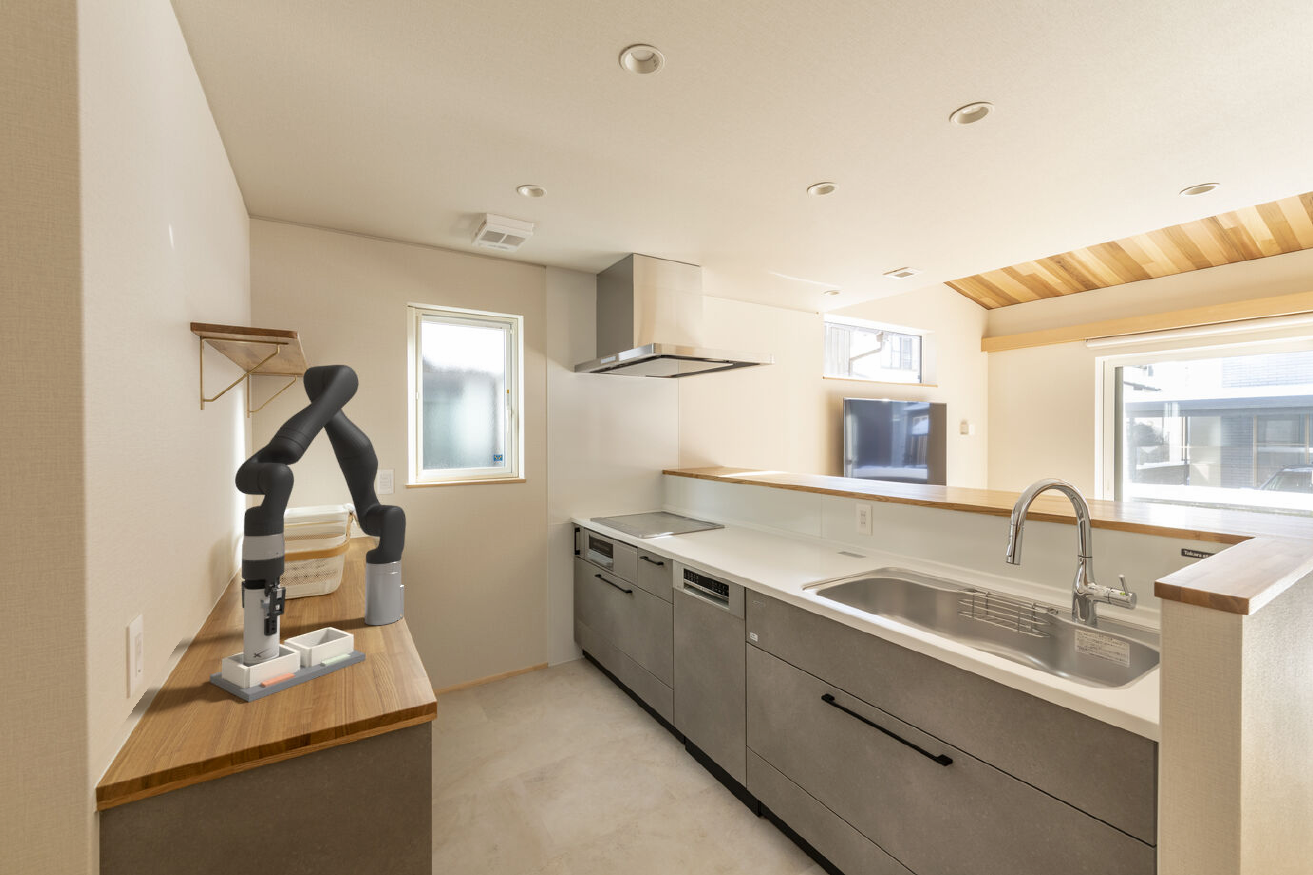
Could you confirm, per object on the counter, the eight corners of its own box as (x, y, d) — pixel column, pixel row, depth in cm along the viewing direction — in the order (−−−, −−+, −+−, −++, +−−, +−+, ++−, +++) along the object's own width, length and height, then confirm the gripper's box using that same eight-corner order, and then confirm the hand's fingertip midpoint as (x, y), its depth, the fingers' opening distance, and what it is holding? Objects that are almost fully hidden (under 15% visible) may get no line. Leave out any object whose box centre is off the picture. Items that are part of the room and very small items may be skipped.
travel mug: (261, 670, 113) (262, 575, 113) (235, 667, 114) (237, 573, 114) (287, 658, 119) (288, 568, 119) (262, 655, 120) (264, 566, 120)
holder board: (324, 645, 136) (325, 623, 136) (365, 659, 128) (365, 636, 128) (209, 681, 115) (210, 656, 115) (249, 702, 107) (249, 674, 107)
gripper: (300, 555, 116) (298, 632, 116) (266, 547, 123) (264, 620, 123) (260, 562, 110) (259, 644, 110) (227, 553, 117) (226, 630, 117)
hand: (262, 631), depth 117 cm, fingers closed on travel mug, 6 cm apart
